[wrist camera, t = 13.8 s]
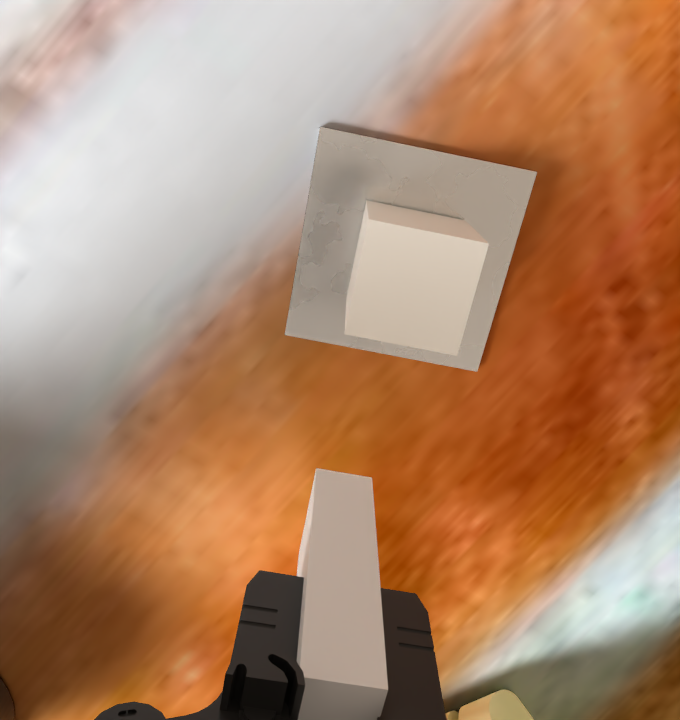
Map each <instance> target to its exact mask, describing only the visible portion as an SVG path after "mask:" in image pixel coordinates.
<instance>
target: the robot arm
mask: <svg viewBox="0 0 680 720" xmlns="http://www.w3.org/2000/svg"><path fill="white" fill-rule="evenodd" d="M433 650H434V646H433V640H432V636H431V628H430V622H429V616H428V612H427V610H426V609H425V607H424V606H423V604H422V602H421V601H420V599H419V598H418V596H417V595H416V594H415V593H408V592H402V591H396V590H390V589H383V588H380V576H379V562H378V549H377V536H376V523H375V510H374V497H373V484H372V478H371V477H365V476H360V475H354V474H348V473H342V472H336V471H330V470H324V469H318V468H316V472H315V477H314V482H313V487H312V492H311V496H310V501H309V506H308V511H307V516H306V521H305V526H304V531H303V536H302V541H301V545H300V550H299V558H298V568H297V576H292V575H285V574H279V573H273V572H267V571H259V572H258V573H257V574H256V575H255V576H254V578H253V579H252V580H251V581H250V582H249V583H248V585H247V587H246V592H245V597H244V601H243V606H242V611H241V616H240V620H239V625H238V630H237V634H236V639H235V644H234V649H233V653H232V658H231V663H230V665H229V667H228V670H227V672H226V674H225V680H224V686H223V691H222V693H221V694H220V696H219V697H218V698H217V699H216V700H215V701H214V702H213V703H212V704H211V705H209V706H208V707H206V708H205V709H203V710H201V711H199V712H197V713H193V714H189V715H186V716H180V717H174V718H168V719H165V717H164V715H163V714H162V712H160V711H159V710H157V709H155V708H154V707H152V706H151V705H149V704H143V703H138V702H129V703H123V704H117V705H115V706H113V707H111V708H109V709H107V710H105V711H103V712H102V713H100V714H99V715H98V716H97V717H96V718H95V719H94V720H447V718H446V714H445V711H444V705H443V699H442V693H441V688H440V682H439V676H438V670H437V664H436V658H435V652H434V651H433ZM14 717H15V714H14V705H13V702H12V698H11V696H10V693H9V691H8V689H7V687H6V686H5V684H4V683H3V681H2V680H1V678H0V720H14Z"/></svg>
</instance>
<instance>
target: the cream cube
mask: <svg viewBox="0 0 680 720" xmlns="http://www.w3.org/2000/svg"><path fill="white" fill-rule="evenodd" d="M488 246H489V243H488V242H487V241H486V240H485V239H484V238H483V237H482V236H481V235H480V234H479V233H478V232H477V231H476V230H475V229H474V228H473V227H472V226H471V225H470V224H469V223H468V222H467V221H465V220H461V219H456V218H451V217H446V216H441V215H436V214H431V213H426V212H422V211H417V210H412V209H407V208H402V207H397V206H392V205H387V204H382V203H377V202H372V201H367V200H366V205H365V210H364V214H363V219H362V224H361V229H360V234H359V239H358V244H357V248H356V253H355V258H354V263H353V268H352V273H351V278H350V282H349V287H348V292H347V297H346V316H345V334H346V335H351V336H356V337H361V338H367V339H372V340H377V341H382V342H387V343H393V344H398V345H403V346H408V347H413V348H419V349H424V350H429V351H434V352H439V353H445V354H450V355H455V356H457V354H458V351H459V347H460V344H461V340H462V337H463V333H464V330H465V326H466V323H467V319H468V316H469V312H470V309H471V305H472V302H473V298H474V295H475V291H476V288H477V284H478V281H479V277H480V274H481V270H482V267H483V263H484V260H485V256H486V253H487V249H488Z"/></svg>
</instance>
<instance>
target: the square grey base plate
mask: <svg viewBox="0 0 680 720" xmlns="http://www.w3.org/2000/svg"><path fill="white" fill-rule="evenodd" d="M536 175H537V172H536V171H531V170H527V169H522V168H517V167H512V166H507V165H503V164H498V163H493V162H488V161H483V160H478V159H474V158H469V157H464V156H459V155H454V154H450V153H445V152H440V151H435V150H430V149H426V148H421V147H416V146H411V145H406V144H401V143H397V142H392V141H387V140H382V139H377V138H373V137H368V136H363V135H358V134H353V133H349V132H344V131H339V130H334V129H329V128H324V127H320V131H319V137H318V143H317V149H316V155H315V160H314V166H313V172H312V178H311V184H310V190H309V195H308V201H307V207H306V213H305V219H304V225H303V231H302V236H301V242H300V248H299V254H298V260H297V266H296V272H295V277H294V283H293V289H292V295H291V301H290V307H289V312H288V318H287V324H286V330H285V335H288V336H293V337H298V338H303V339H309V340H314V341H319V342H324V343H329V344H335V345H340V346H345V347H350V348H356V349H361V350H366V351H371V352H377V353H382V354H387V355H392V356H398V357H403V358H408V359H413V360H419V361H424V362H429V363H434V364H439V365H445V366H450V367H455V368H460V369H466V370H471V371H476V372H477V371H478V368H479V364H480V361H481V358H482V354H483V351H484V348H485V344H486V341H487V338H488V334H489V331H490V328H491V324H492V321H493V318H494V314H495V311H496V308H497V305H498V301H499V298H500V295H501V291H502V288H503V285H504V281H505V278H506V275H507V271H508V268H509V265H510V261H511V258H512V255H513V251H514V248H515V245H516V241H517V238H518V235H519V231H520V228H521V225H522V221H523V218H524V215H525V211H526V208H527V205H528V201H529V198H530V195H531V191H532V188H533V185H534V181H535V178H536ZM366 200H367V201H372V202H377V203H382V204H387V205H392V206H397V207H402V208H407V209H412V210H417V211H422V212H426V213H431V214H436V215H441V216H446V217H451V218H456V219H461V220H465V221H467V222H468V223H469V224H470V225H471V226H472V227H473V228H474V229H475V230H476V231H477V232H478V233H479V234H480V235H481V236H482V237H483V238H484V239H485V240H486V241H487V242H488V243H489V246H488V249H487V253H486V256H485V260H484V263H483V267H482V270H481V274H480V277H479V281H478V284H477V288H476V291H475V295H474V298H473V302H472V305H471V309H470V312H469V316H468V319H467V323H466V326H465V330H464V333H463V337H462V340H461V344H460V347H459V351H458V354H457V356H455V355H450V354H445V353H439V352H434V351H429V350H424V349H419V348H413V347H408V346H403V345H398V344H393V343H387V342H382V341H377V340H372V339H367V338H361V337H356V336H351V335H346V334H345V316H346V297H347V292H348V287H349V282H350V278H351V273H352V268H353V263H354V258H355V253H356V248H357V244H358V239H359V234H360V229H361V224H362V219H363V214H364V210H365V205H366Z"/></svg>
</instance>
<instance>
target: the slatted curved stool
mask: <svg viewBox="0 0 680 720" xmlns="http://www.w3.org/2000/svg"><path fill="white" fill-rule="evenodd" d="M445 714H446V718H447V720H534V719H533V717H532V716H531V715H530V713H529V712H528V711H527V709H526V708H525V706H524V705H523V704H522V702H521V701H520V700H519V698H518V697H517V696H516V695H515V694H514V693H513V692H511V691H509V690H499V691H497V692H494V693H492V694H490V695H487V696H485V697H483V698H480V699H478V700H476V701H473V702H471V703H469V704H466V705H464V706H462V707H461V708H460V710H459V713H458V712H457V711H454V710H453V711H450V712H448V713H445Z"/></svg>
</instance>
